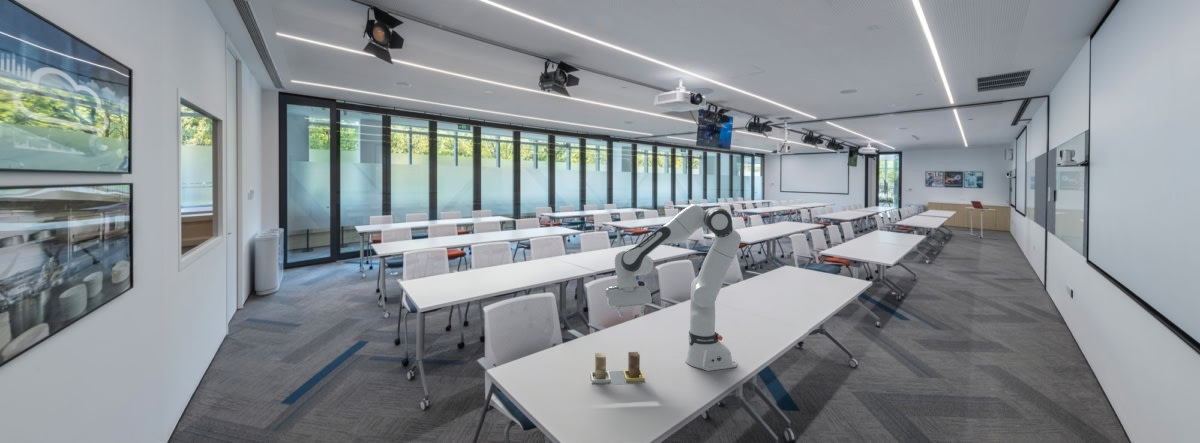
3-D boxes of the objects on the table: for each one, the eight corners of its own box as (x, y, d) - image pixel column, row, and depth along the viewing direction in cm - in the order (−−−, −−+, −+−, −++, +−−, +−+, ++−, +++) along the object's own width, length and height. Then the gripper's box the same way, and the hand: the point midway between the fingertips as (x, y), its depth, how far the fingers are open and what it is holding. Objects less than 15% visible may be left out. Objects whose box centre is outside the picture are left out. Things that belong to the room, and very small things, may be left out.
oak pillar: (604, 375, 182) (604, 352, 181) (605, 380, 178) (605, 356, 177) (595, 376, 181) (595, 353, 180) (596, 380, 177) (596, 357, 176)
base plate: (640, 372, 187) (640, 367, 187) (646, 385, 175) (646, 380, 175) (589, 374, 185) (589, 369, 185) (592, 388, 173) (592, 382, 173)
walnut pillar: (637, 374, 183) (637, 351, 182) (639, 378, 179) (639, 355, 178) (628, 374, 183) (628, 352, 182) (629, 379, 179) (630, 356, 178)
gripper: (606, 285, 194) (610, 316, 189) (649, 282, 198) (655, 311, 192) (604, 289, 200) (608, 319, 194) (646, 286, 204) (651, 315, 198)
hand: (631, 315), depth 193 cm, fingers open, 8 cm apart
